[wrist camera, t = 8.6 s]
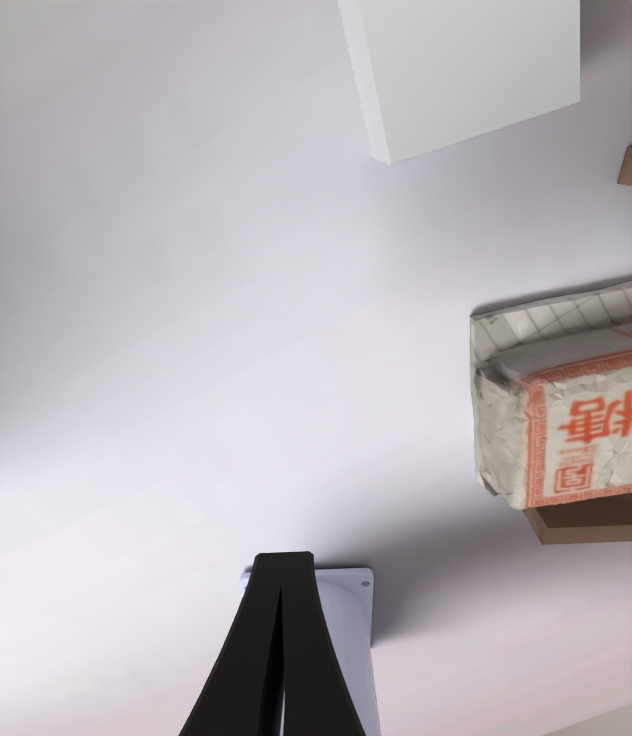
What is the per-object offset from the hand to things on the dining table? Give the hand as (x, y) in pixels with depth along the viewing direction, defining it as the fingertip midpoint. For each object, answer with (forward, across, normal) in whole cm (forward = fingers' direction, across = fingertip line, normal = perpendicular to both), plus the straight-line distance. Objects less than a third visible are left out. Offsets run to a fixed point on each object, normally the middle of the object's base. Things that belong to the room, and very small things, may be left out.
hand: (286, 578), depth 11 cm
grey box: (+10, -5, -12) cm, 16 cm away
